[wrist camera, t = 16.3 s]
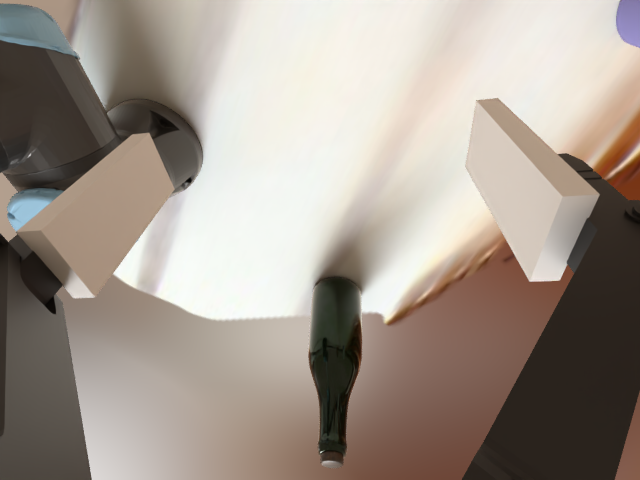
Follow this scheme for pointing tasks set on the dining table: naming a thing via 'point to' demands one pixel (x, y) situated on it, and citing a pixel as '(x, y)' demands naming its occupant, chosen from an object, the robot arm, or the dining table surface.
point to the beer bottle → (334, 360)
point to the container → (629, 21)
